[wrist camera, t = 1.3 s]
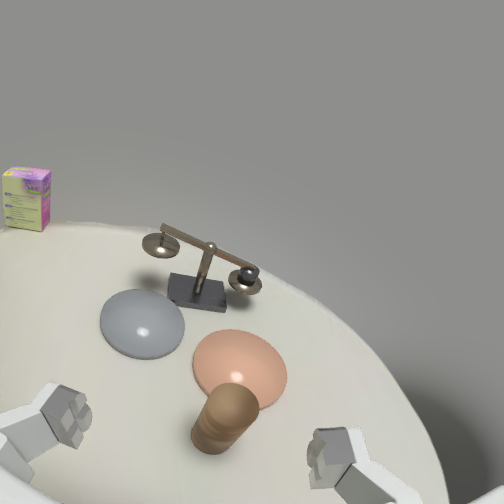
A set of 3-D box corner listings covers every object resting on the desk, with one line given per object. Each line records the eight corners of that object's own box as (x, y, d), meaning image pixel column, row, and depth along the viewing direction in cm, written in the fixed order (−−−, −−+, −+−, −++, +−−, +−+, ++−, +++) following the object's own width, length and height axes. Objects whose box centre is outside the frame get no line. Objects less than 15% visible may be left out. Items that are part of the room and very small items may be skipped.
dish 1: (83, 324, 35) (83, 318, 35) (135, 283, 47) (136, 278, 46) (153, 375, 34) (153, 371, 33) (198, 322, 45) (199, 317, 44)
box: (50, 219, 51) (51, 169, 46) (42, 232, 47) (41, 179, 41) (14, 213, 47) (13, 165, 42) (4, 226, 43) (1, 175, 37)
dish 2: (174, 378, 35) (175, 374, 34) (218, 321, 47) (220, 316, 46) (267, 427, 32) (271, 424, 32) (293, 359, 45) (296, 355, 44)
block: (183, 441, 27) (199, 410, 22) (202, 413, 32) (221, 374, 27) (221, 461, 27) (248, 435, 22) (237, 430, 31) (266, 397, 26)
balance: (134, 298, 44) (142, 233, 38) (139, 272, 49) (149, 210, 43) (255, 316, 51) (282, 260, 44) (249, 290, 56) (272, 237, 50)
